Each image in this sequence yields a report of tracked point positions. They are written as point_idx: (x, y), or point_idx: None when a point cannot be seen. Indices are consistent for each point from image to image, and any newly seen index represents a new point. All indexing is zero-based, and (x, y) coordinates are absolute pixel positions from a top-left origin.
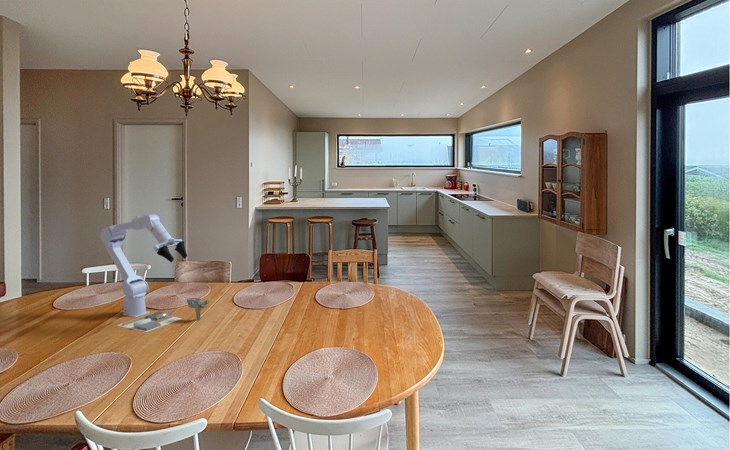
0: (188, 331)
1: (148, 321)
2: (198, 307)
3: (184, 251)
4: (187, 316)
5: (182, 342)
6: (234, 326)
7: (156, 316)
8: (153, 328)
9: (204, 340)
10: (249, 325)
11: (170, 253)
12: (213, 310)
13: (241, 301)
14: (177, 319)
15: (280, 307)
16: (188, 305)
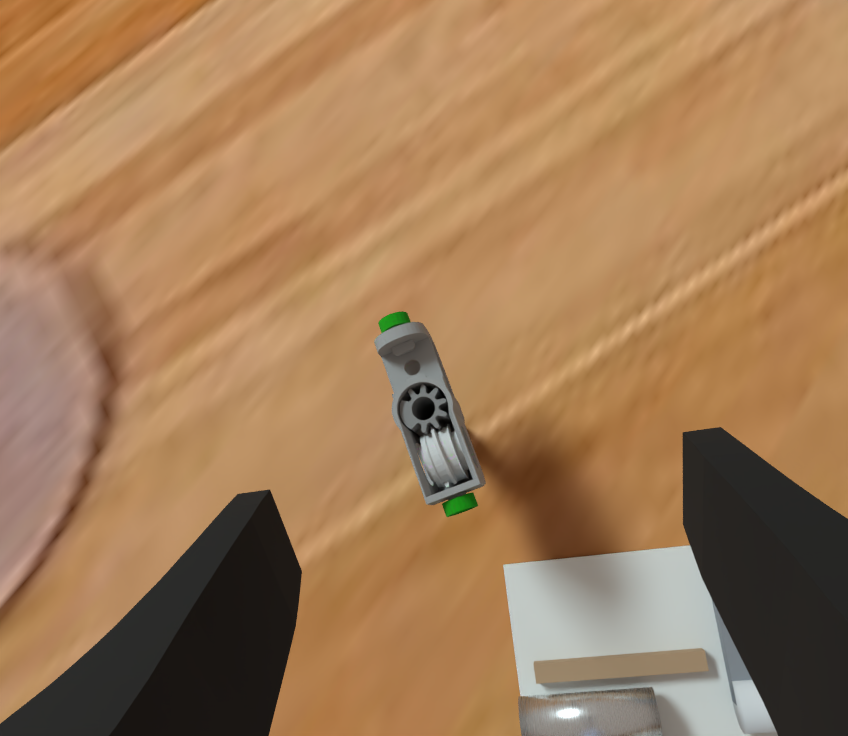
0: (635, 298)
1: None
2: (449, 390)
3: (214, 567)
4: (440, 586)
5: (777, 160)
6: (404, 148)
7: (660, 722)
8: None
9: (668, 90)
10: (346, 96)
11: (780, 532)
12: None
13: (5, 527)
14: (539, 577)
15: (13, 205)
16: (483, 478)
